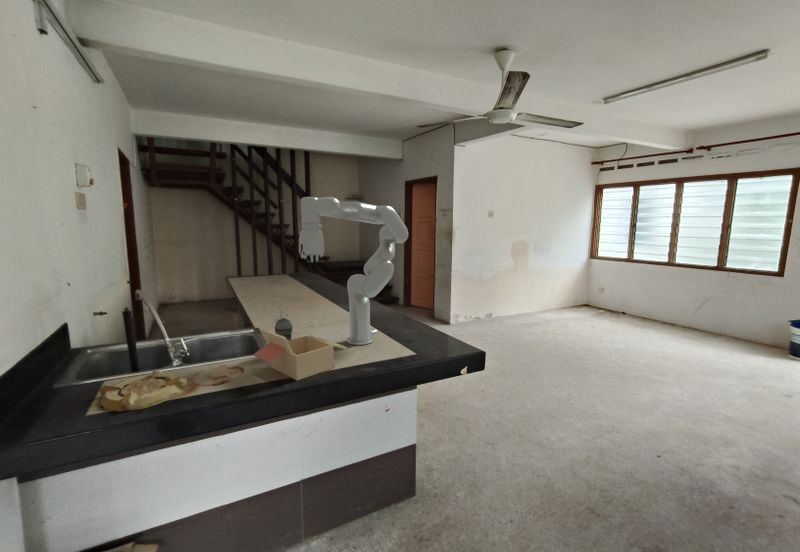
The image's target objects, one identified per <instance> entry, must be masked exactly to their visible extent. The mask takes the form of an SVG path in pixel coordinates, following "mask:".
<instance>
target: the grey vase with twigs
mask: <svg viewBox="0 0 800 552" xmlns="http://www.w3.org/2000/svg"><path fill="white" fill-rule="evenodd" d="M279 312H280V313H279V314H280V318H279V319H278V320H276V323H275V325H274V333H276V334H278V335H281V336H284V337H286V339H287V340H291V339H292V332H293V324H292V322H291V320H289V319H288V318H285V317H283V313H282V308H281V307H279Z"/></svg>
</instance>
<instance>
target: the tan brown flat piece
mask: <svg viewBox="0 0 800 552" xmlns="http://www.w3.org/2000/svg"><path fill="white" fill-rule="evenodd" d="M187 385H188V380H187V378H186V377H182V376H179V375H175V374H173V373H172V374H171V373H164V372H163V370H160V369H154V370H152V372H151V374H149V375H147V374H146V375H142V376H141V375H140V376H137V377H133V378H131V379H127V380H125V381H122V382H119V383H117V384H116V385H114V384H113V385H112V384H108V383H107V384H104V385H103V386H102V387H100V388H99V389H98V392H99V393H100V395H101V399H100V404H99V406H100V407H103V408H104V409H105V410H106V411H107V412H108V411H115V412H125V411H135V410H136V411H137V410H142V409H146V408H149V407H153V406H156V405H159V404H162V403H163V402H166V401H169V400H170V399H172V398H176V397H178V396H180V395H181V394H183V393H185V392H186V388H187Z"/></svg>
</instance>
